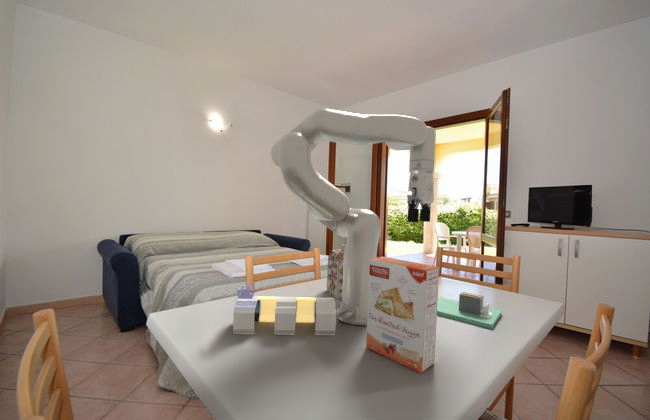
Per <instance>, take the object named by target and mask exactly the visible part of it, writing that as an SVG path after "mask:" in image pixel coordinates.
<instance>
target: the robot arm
mask: <svg viewBox="0 0 650 420" xmlns="http://www.w3.org/2000/svg"><path fill="white" fill-rule="evenodd" d="M436 135H437V131H436V129H435V128H434V127H432V126H427V124H426V123H425V122H424V121H423V120H422V119H419V118H416V117H413V116H407V115H403V114H402V115H400V114H360V113H353V112H350V111H349V112H348V111H342V110H336V109H330V108H319V109H317V110H315V111H313V112H312V113H310V115H308V116H307V117H306V118H304V119H303V120H301V122H300V123H299V124H298V125H297V126H295V127H294V128H293V129H292V130H290V131H289V132H287V133H286V134H285V135H283V136H282V137H281V138H279V140H277V141H275V143H273V146H272V148H271V151H270V156H271V160H272V162H273V163H274V164H275V165H276V166H277V167H278V168H280V173H281V176H282V179H283V181H284V184H285V185H286V187H287V188H288V190H289V191H290V192H291V193H292V194H293V195H294V196H296V197H297V198H298V199H299V200H300V201H302V202H303V203H304V204H306V208H307V211H308V213H309V214H310V215H311V216H312V217H313V218H314V219H315V220H316V221H317V222H319V223H320V224H322V225H323V226H324V227H326V228H328V229H329V230H330V231H332V232H333V233H334V234H336V235H337V236H340V237H341V238H345V239H347V240H346V247H345V251H344V260H343V288H342V299H341V303H340V307H339V308H338V309H336V319H338V320H339V321H341V322H343V323H346V324H350V325H356V326H367V316H368V293H369V271H370V259H372V258H378V256H377V255H378V248H379V247H378V246H379V242H380V238H381V233H382V223H381V220H380V218H379V216H378V215H377V214H376V213H375V212H373V211H372V210H370V209H365V208H352V207H351V206H352V205H351V201H350V199H349V197H348V195H347V194H346V193H345V192H344V191H342V190H340V188H337V187H336V186H335V185H334V184H332V183H331V182H330V181H328V180H327V179H325V177H323V176H322V175H321V174H320V173H319V172H318V171H317V170H316V169H315V167H314V165H313V163H312V153H311V152H313V151H314V150H315V149H316V148H317V147H318V146H320V145H321V144H322V143H324V142H330V143H331V142H332V143H341V144H348V145H352V146H353V145H355V146H370V145H374V144H381V143H385V144H386V146H387V147H388V148H389V149H391V150H393V151H409V162H408V163H409V168H408V173H409V180H408V189H407V190H408V191H407V194H406V197H407V201H406V202H407V223H418V222H419V221H420V222H427V223H429V222H431V209H432V204H433V203H434V200H435V199H434V195H435V189H434V188H435V187H434V186H435V185H434V184H435V183H434V181H435V180H434V173H435V162H436V161H435V159H436V158H435V157H436V142H437V141H436V138H437V136H436ZM419 206H421V208H420V209H419ZM419 212H420V213H419Z"/></svg>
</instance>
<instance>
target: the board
mask: <svg viewBox="0 0 650 420" xmlns="http://www.w3.org/2000/svg"><path fill="white" fill-rule="evenodd" d="M437 316H440V317H444V318H448V319H452V320H456V321H460V322H463V323H467V324H471V325H476V326H479V327H484V328H487V329H491V330H493V328H494V326H496V324H497V322H498V321H499V319H500V318H501V316H502V310H498V309H495V308H494V309H493V308H490V303H488V302H486V303H485V304H484V305H483V312H482V313H481V315H476V314H472V313H467V312H463V311H459V301H458V300H453V299H448V298H444V297H438V301H437Z"/></svg>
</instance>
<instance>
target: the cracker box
mask: <svg viewBox="0 0 650 420" xmlns="http://www.w3.org/2000/svg"><path fill="white" fill-rule="evenodd" d="M439 272H440V267H439V266H435V265H430V264H426V263H421V262H413V261H409V260H405V259H398V258H393V257H390V256H389V257H388V256H379V257H378V256H377V258H372V259H370V271H369V293H368V316H367V325H366V339H365V340H366V342H365V344H366V345H365V347H366V349H369V350H371V351H372V352H375V353H378V354H380V355H382V356H384V357H386V358H388V359H390V360H392V361H395V362H396V363H398V364H400V365H403V366H404V367H407V368H409V369H411V370H414V371H416V372H418V373H420V374H422V373H424V372H425V371H427V370H428V369H429V368H430V367H432V366H433V365H434V364H435V357H436V355H435V354H436V338H437V321H438V320H437V316H438V315H437V301H438V299H439V297H438V295H439V278H440V277H439V275H440V273H439Z"/></svg>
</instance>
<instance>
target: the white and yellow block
mask: <svg viewBox="0 0 650 420" xmlns="http://www.w3.org/2000/svg"><path fill="white" fill-rule="evenodd" d="M245 284H246V285H241V288H238V289H236V294H237V297H234V300H236V301H235V302H234V310H233V317H232V318H233V320H232V321H233V322H232V331H233V335H255V323H256V322H257V323H259V322H260V323H274V329H273V331H274V335H275V336H276V335H278V336H279V335H280V336H281V335H283V336H284V335H287V336H288V335H290V336H293V335H294V336H296V323H315V328H314V336H336V329H337V328H336V325H337V318H336V310H337V307H336V301H335V297H316V296H312V297H311V296H307V297H306V296H304V297H303V296H301V297H300V296H263V295H262V296H259V295H255V296H254V294H255V291H256V289H254V288H252V287H254V283H253V282H252V281H250V282H246V283H245Z"/></svg>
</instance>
